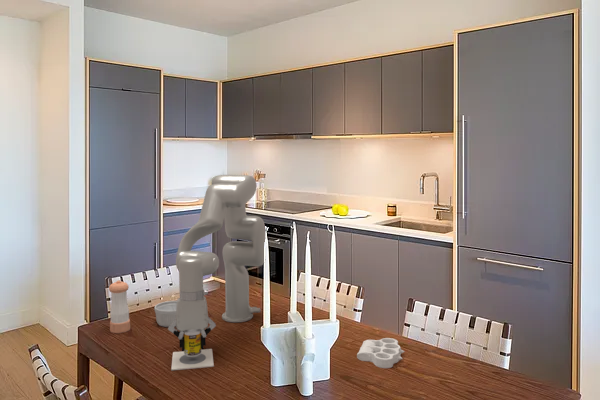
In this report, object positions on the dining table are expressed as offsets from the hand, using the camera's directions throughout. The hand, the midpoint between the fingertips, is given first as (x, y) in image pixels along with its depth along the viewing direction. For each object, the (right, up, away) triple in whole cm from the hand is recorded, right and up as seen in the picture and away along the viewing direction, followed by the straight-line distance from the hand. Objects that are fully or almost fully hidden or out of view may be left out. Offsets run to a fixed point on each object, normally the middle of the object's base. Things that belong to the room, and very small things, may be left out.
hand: (192, 348), depth 157 cm
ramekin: (-16, -1, +34) cm, 38 cm away
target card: (0, -4, 0) cm, 4 cm away
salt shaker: (-34, -1, +26) cm, 43 cm away
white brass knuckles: (+63, -4, +4) cm, 63 cm away
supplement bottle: (0, -2, 0) cm, 2 cm away
